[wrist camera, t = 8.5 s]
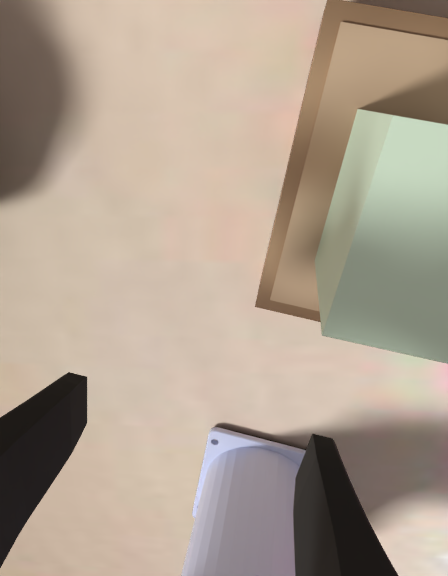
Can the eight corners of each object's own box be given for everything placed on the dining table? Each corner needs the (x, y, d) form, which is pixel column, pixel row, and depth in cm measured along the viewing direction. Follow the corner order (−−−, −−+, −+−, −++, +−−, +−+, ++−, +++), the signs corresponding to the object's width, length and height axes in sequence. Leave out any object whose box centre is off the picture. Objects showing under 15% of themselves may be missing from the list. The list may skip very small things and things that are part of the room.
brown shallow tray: (449, 323, 20) (473, 359, 18) (260, 280, 21) (254, 308, 18) (583, 59, 15) (649, 51, 12) (323, 14, 16) (328, -4, 13)
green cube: (457, 290, 16) (534, 383, 11) (314, 260, 17) (321, 335, 12) (530, 139, 14) (678, 165, 8) (357, 108, 14) (392, 115, 9)
